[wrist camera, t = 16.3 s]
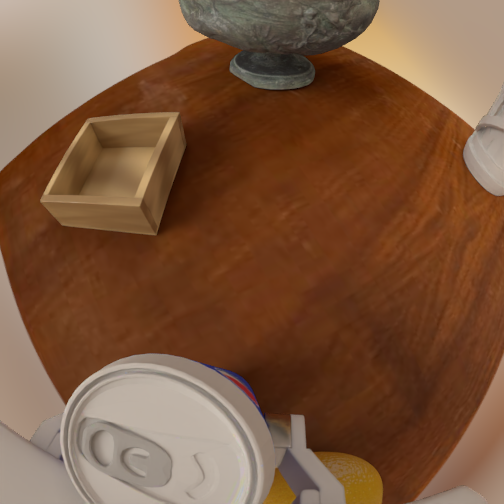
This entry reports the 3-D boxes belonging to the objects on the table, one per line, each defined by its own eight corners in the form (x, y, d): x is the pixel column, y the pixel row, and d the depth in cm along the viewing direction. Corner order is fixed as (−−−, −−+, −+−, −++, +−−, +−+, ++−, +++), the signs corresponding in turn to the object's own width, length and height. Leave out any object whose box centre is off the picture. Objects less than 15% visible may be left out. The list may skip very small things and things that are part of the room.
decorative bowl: (304, 35, 44) (312, -47, 25) (391, 104, 35) (429, -4, 16) (175, 59, 40) (156, -36, 21) (225, 144, 31) (206, -24, 12)
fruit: (257, 528, 14) (261, 582, 7) (240, 452, 17) (236, 491, 10) (361, 503, 15) (403, 541, 7) (351, 427, 18) (400, 447, 11)
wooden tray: (156, 235, 25) (139, 206, 20) (62, 225, 25) (39, 201, 21) (186, 144, 29) (179, 111, 25) (101, 145, 30) (88, 118, 25)
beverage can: (261, 376, 19) (303, 379, 5) (248, 442, 16) (253, 572, 3) (190, 361, 19) (70, 319, 5) (177, 427, 17) (47, 500, 3)
